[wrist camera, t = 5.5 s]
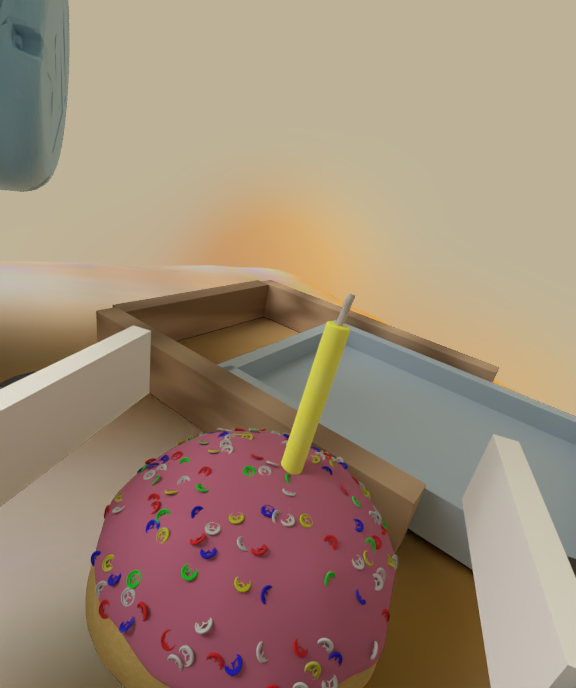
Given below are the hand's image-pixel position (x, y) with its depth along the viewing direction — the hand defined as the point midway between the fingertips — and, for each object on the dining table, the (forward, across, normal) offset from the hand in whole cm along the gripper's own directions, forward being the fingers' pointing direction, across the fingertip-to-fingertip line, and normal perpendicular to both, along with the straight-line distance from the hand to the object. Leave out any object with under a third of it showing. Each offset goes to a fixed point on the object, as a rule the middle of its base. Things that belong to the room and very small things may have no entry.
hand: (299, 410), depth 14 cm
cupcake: (-4, 0, -7) cm, 8 cm away
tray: (+11, +6, -7) cm, 14 cm away
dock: (+14, -3, -7) cm, 16 cm away
